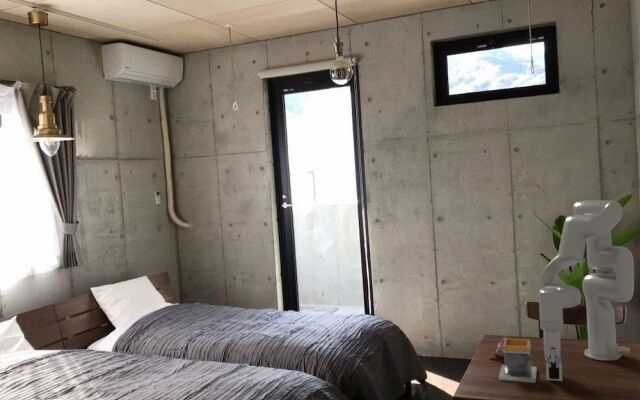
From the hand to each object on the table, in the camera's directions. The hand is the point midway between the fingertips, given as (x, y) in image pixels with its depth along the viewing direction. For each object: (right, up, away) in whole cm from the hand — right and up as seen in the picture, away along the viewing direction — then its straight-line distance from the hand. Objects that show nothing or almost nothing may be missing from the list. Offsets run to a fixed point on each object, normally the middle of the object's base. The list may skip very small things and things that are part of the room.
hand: (554, 375), depth 198 cm
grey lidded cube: (0, -1, 0) cm, 1 cm away
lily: (-11, -1, +25) cm, 27 cm away
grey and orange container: (-11, -2, +5) cm, 12 cm away
